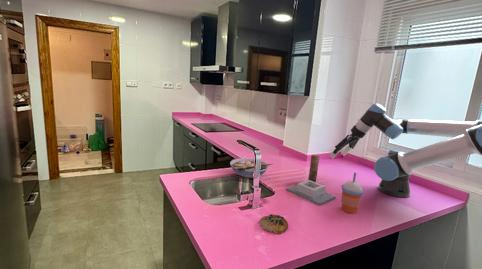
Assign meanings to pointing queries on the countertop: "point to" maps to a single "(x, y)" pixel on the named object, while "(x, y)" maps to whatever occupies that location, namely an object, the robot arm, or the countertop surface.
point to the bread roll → (274, 224)
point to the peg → (313, 168)
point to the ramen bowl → (247, 167)
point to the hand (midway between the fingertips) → (337, 155)
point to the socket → (311, 192)
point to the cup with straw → (351, 195)
